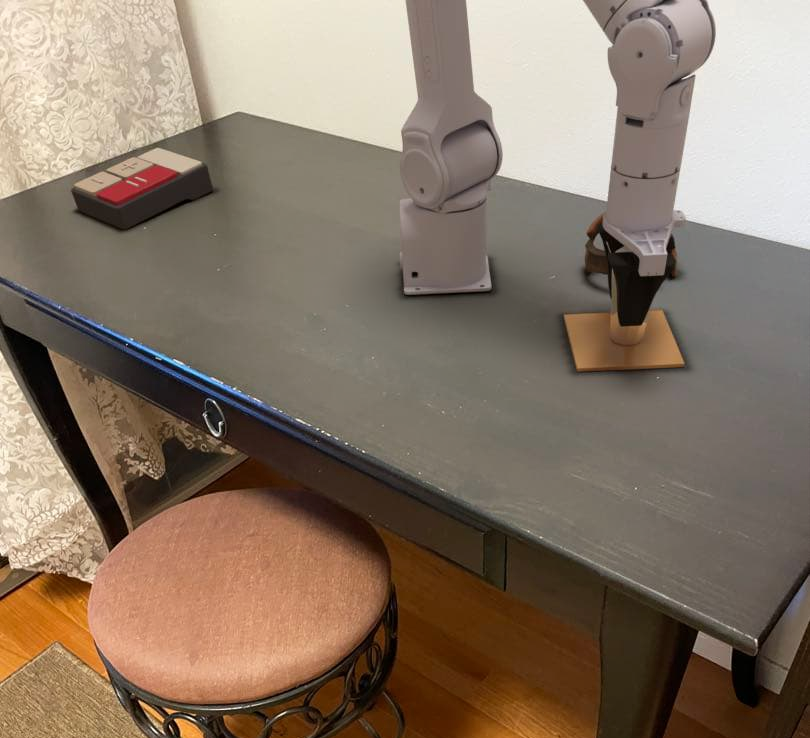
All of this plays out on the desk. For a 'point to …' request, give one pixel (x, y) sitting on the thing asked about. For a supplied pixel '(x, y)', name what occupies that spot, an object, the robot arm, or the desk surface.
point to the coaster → (604, 354)
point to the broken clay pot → (597, 257)
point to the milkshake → (618, 333)
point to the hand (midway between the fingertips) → (625, 311)
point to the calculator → (141, 187)
